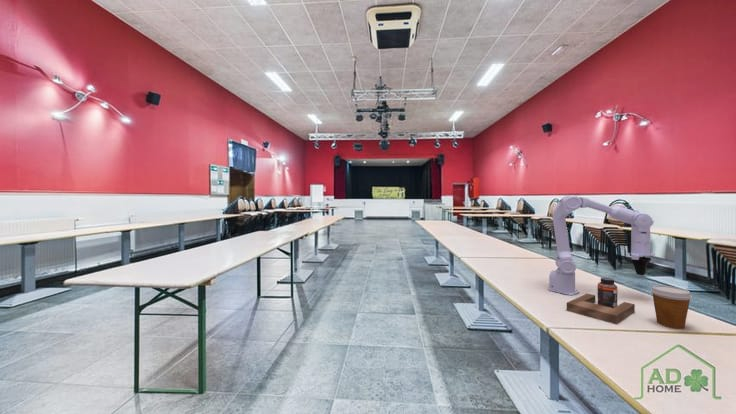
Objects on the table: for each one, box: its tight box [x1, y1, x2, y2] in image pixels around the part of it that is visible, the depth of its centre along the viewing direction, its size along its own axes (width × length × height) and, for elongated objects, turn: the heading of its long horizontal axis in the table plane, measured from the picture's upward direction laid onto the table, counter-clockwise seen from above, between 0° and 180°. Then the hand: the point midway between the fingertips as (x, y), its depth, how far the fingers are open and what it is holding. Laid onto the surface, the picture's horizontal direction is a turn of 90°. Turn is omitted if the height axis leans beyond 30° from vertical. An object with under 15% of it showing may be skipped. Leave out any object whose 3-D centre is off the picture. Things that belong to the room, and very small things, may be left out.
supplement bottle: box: [597, 276, 618, 308], centre depth 110 cm, size 6×6×11 cm
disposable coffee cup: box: [650, 284, 693, 330], centre depth 94 cm, size 10×10×12 cm
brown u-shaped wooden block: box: [566, 293, 636, 325], centre depth 106 cm, size 15×18×3 cm
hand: (640, 274), depth 117 cm, fingers closed
